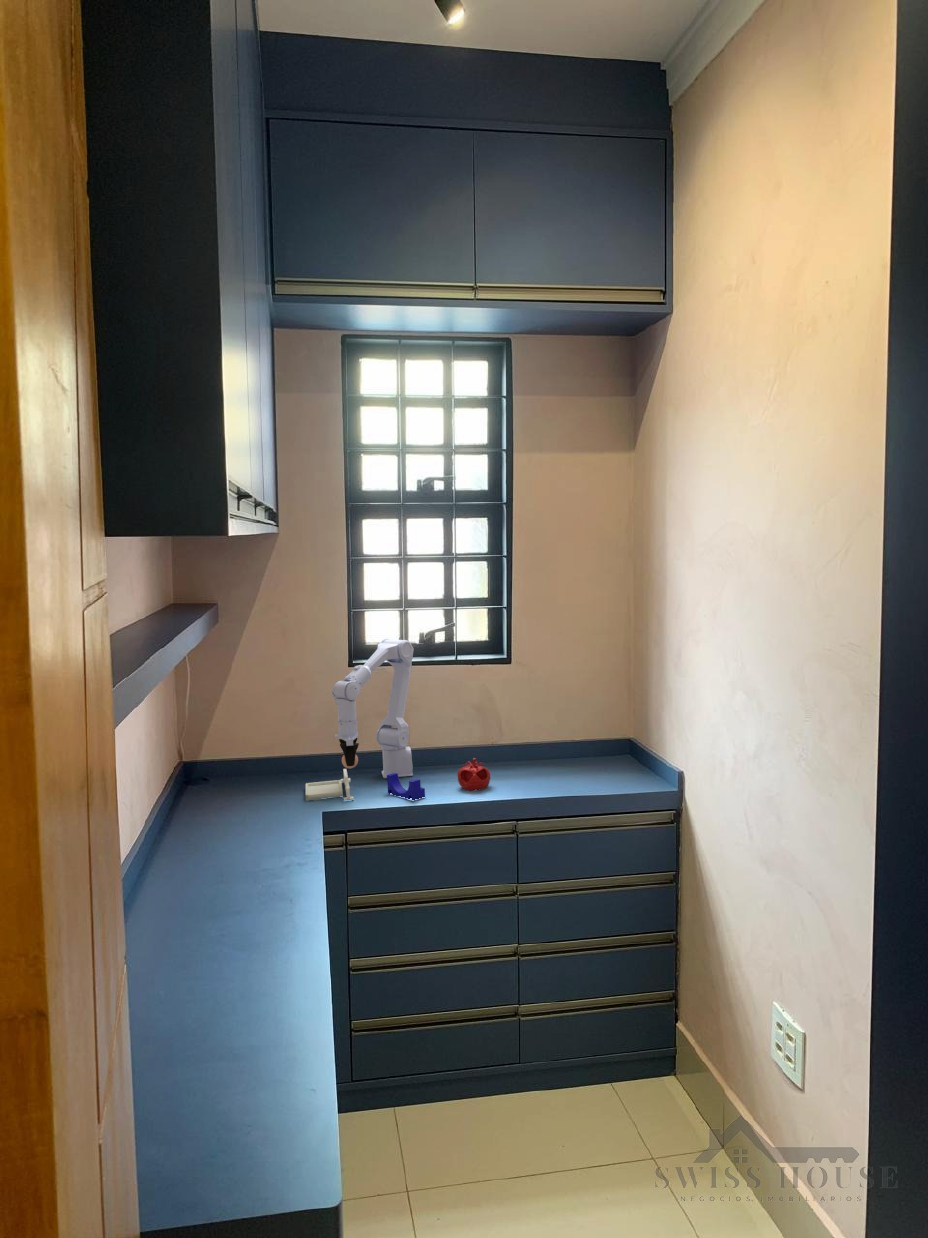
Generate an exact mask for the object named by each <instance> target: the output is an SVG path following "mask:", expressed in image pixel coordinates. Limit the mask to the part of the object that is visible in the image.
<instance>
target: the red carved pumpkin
mask: <svg viewBox="0 0 928 1238" xmlns="http://www.w3.org/2000/svg"><path fill="white" fill-rule="evenodd" d="M482 765H485V762H479V760H478V761H477V758H476V757H473V758H472V762H471V761H470V760H469V761H466V763H464V764H462V765H461V766H463V767H461V768H459V769H458V771H457V774H456V776H457V781H458V784H459V786H460V787H461V788H462V789H464V790H465V791H470V792H473V791H482V790H484V789H486V788H488V786H489V785H490V782H491V772H490V770H489V769H488V768H487V767H485V766H482Z"/></svg>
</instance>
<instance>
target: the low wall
mask: <svg viewBox="0 0 928 1238" xmlns="http://www.w3.org/2000/svg"><path fill="white" fill-rule="evenodd" d="M347 769H348V768H343V769H342V770H343V778H341V779H340V780H341V783H342V784H344V791H345V796H347V797H345V796H343V798H342V799H344V800H353V799H354V797H355V796H351V791H350V790H351V788H350V783H351V781H352V780H351V777H348V771H347ZM344 800H343V801H344ZM354 800H355V799H354Z"/></svg>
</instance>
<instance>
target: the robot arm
mask: <svg viewBox="0 0 928 1238" xmlns="http://www.w3.org/2000/svg"><path fill="white" fill-rule="evenodd" d="M376 647H377V648H376V650H375V651H374V652H373V654H371V656H370V657H369V658H368V659H367V660H366V662H365V663H364V664H359V665H355V666H353V669H352V671H351V672H350V673H349V674H348V675H345V677H344V678H343V680H339V681H338V680H337V682H336V683H334V686H333V687H332V690H331V695H332V697H333V698H334V700H335V705H336V708H337V711H336V712H337V722H338V723H337V726H338V728H337V729H338V734H336V733H335V735H334V737H335V739H338V742H339V747H340V748H341V750H342V752H343V755H344V756H345V760H346V764H347V766H354V763H355V755H357V751H358V748H359V746H360V744H359V742H358V737H359V732H358V717H357V715H358V714H357V702H356V701H357V699H358V698H359V695H360V692H361V690H362V688H363V687H364V686H365V685H366V684H367V683H368V682H369V681H370V680H372V673H373V672H374V671H375V670H376V669H378V668H379V667H381V665H382V664H384V663H385V662H388V664H390V665H391V666H392V668H393V670H394V671H393V676H392V683H391V689H390V695H389V700H388V701H389V702H388V708H387V714H386V717H385V718H384V719H382V720H381V721H380V722H379V727H378V729H377V731H376V736H375V739H376V743H378V745H380V749H381V750H382V766H383V770H381V775H382V778H383V779H387V775H389V774H392V773H397V774H398V778H403V777H404V778H405V777H411V776H414V773H413V771H414V770H413V767H414V765H413V759H412V758H413V756H412V755H413V754H412V748H411V746H408V743H409V741H410V734H409V730H410V726H409V724H408V722H406V720H405V719H404V718H405V711H406V705H407V698H408V693H409V688H410V687H409V685H410V679H411V673H412V665H413V664H412V662H413V656H414V651H415V649H414V647H413V645H412V643H411V641H409V640H407V639H390V638H383V639H382V640H381V641H380V642H379V643H378V644H377V646H376Z"/></svg>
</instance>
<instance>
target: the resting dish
mask: <svg viewBox="0 0 928 1238" xmlns="http://www.w3.org/2000/svg"><path fill="white" fill-rule="evenodd" d="M340 796H343V797H344V792H343V783H341V779H338V780H336V779H335V780H325V781H318V782H317V781H316V782H315V781H314V782H306V783H305V802H309V801H308V800H314V799H321V798H328V797H340ZM314 801H315V800H314Z"/></svg>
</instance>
